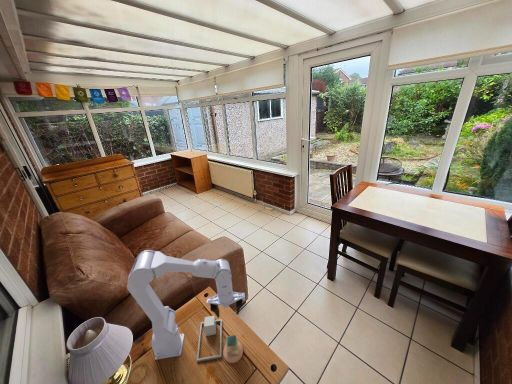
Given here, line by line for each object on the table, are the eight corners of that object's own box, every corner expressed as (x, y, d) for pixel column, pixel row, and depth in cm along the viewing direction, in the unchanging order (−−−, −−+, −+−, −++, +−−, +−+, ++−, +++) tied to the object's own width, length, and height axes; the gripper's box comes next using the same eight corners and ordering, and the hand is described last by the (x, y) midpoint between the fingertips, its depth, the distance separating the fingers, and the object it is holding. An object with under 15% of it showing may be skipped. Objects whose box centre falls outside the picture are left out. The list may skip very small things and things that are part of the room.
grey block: (205, 336, 84) (203, 326, 82) (206, 326, 88) (204, 317, 85) (215, 334, 84) (214, 324, 82) (216, 325, 88) (214, 315, 86)
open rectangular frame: (196, 362, 75) (196, 360, 75) (201, 323, 89) (200, 322, 88) (221, 357, 76) (221, 356, 76) (222, 320, 90) (221, 319, 89)
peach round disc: (223, 365, 74) (223, 363, 74) (223, 343, 81) (223, 341, 81) (243, 361, 75) (243, 359, 75) (242, 339, 82) (242, 338, 82)
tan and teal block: (227, 357, 76) (226, 347, 73) (227, 345, 79) (226, 335, 77) (238, 355, 76) (237, 345, 74) (238, 344, 80) (236, 334, 77)
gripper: (204, 301, 73) (209, 326, 78) (244, 295, 74) (246, 320, 80) (206, 285, 79) (210, 309, 84) (243, 280, 81) (245, 304, 86)
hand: (228, 313), depth 82 cm, fingers open, 7 cm apart
